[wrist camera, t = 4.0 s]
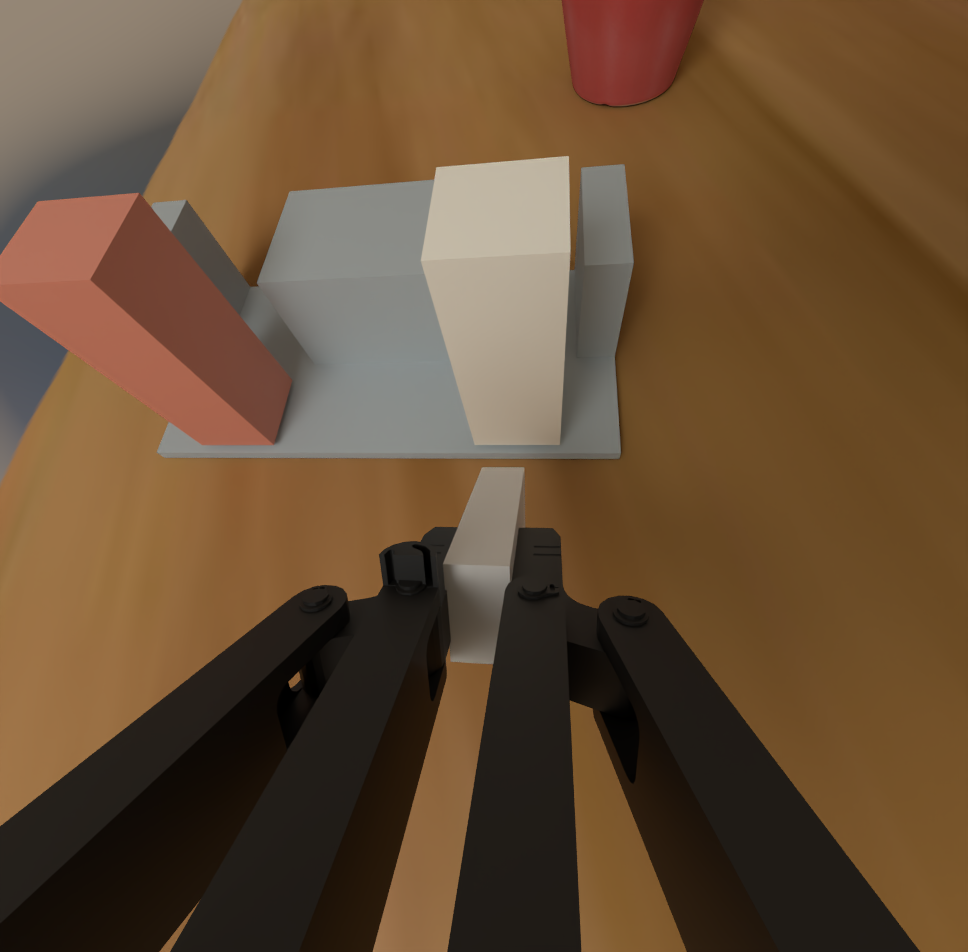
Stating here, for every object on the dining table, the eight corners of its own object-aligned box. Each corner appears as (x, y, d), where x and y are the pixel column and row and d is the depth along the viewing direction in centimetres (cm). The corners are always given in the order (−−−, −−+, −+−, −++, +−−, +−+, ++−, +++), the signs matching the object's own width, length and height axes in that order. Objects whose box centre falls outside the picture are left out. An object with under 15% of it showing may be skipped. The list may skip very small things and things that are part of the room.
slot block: (607, 276, 28) (624, 164, 22) (619, 458, 23) (644, 377, 17) (228, 295, 31) (153, 202, 25) (164, 457, 26) (53, 389, 20)
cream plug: (559, 374, 24) (568, 156, 14) (560, 444, 23) (570, 252, 13) (480, 376, 25) (436, 167, 15) (474, 444, 23) (420, 260, 13)
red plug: (292, 380, 26) (139, 192, 16) (273, 445, 25) (90, 279, 15) (224, 381, 27) (37, 201, 17) (202, 445, 25) (-22, 286, 15)
